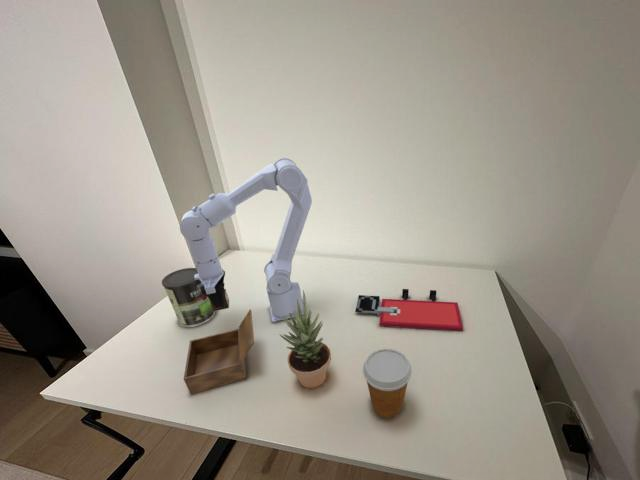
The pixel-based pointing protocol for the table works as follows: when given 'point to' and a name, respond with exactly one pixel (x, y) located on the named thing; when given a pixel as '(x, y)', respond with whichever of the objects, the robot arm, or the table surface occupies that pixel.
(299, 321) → the potted plant
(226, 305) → the block
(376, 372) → the disposable coffee cup
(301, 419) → the table surface
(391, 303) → the red board with handle
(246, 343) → the flap
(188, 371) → the wooden box
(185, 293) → the coffee can
